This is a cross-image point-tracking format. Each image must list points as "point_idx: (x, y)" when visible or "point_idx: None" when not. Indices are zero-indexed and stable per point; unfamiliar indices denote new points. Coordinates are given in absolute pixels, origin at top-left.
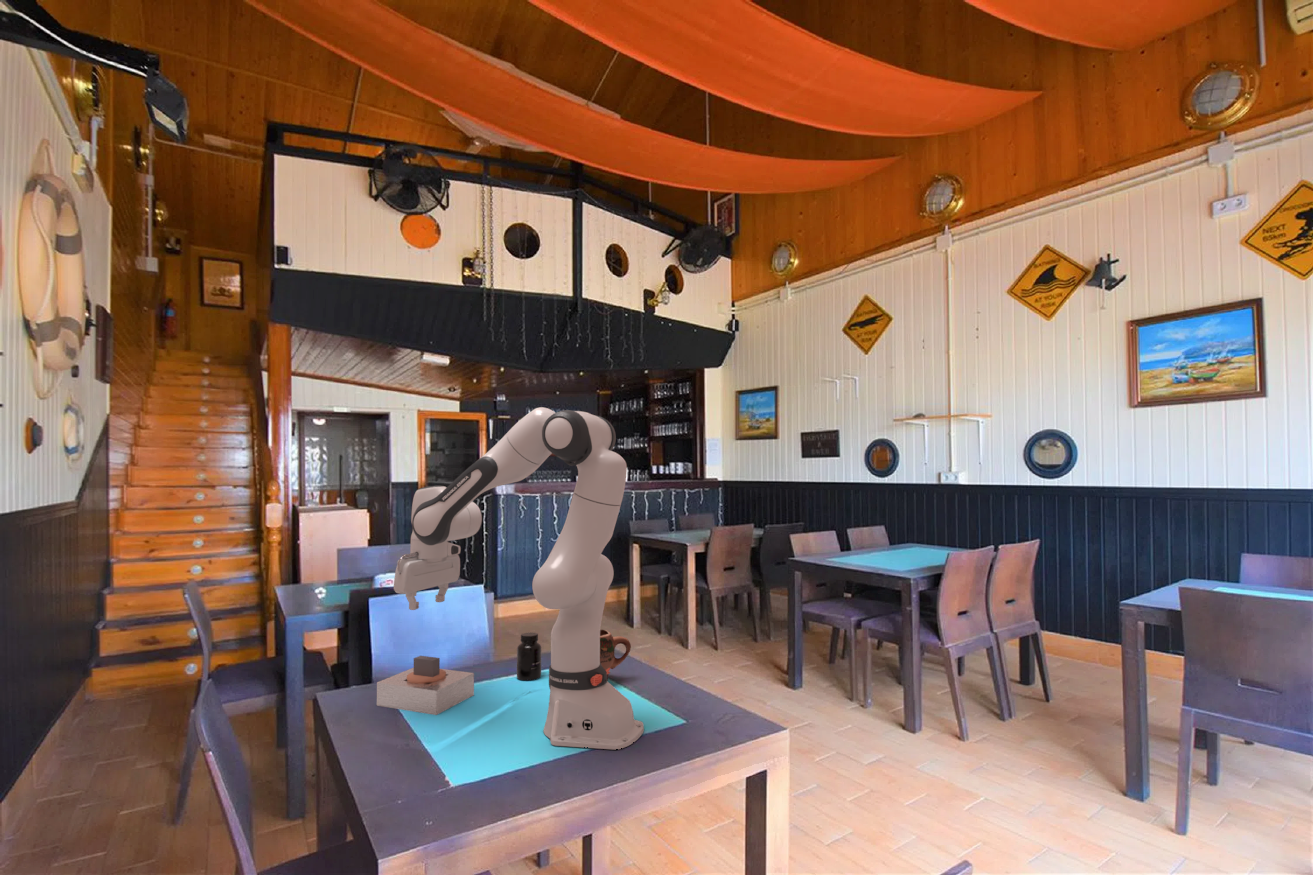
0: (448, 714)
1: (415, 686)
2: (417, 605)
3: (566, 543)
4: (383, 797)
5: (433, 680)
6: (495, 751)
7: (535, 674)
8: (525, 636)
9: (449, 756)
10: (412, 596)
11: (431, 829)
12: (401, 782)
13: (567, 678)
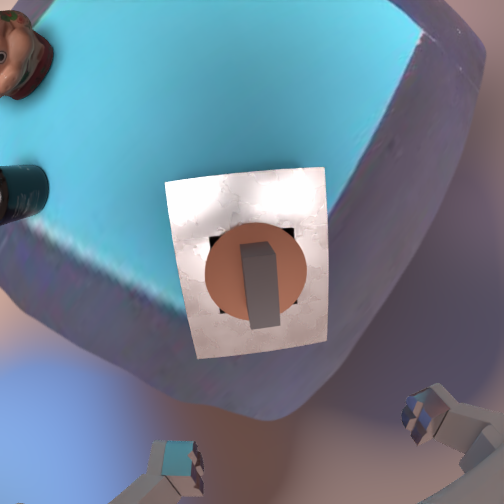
0: None
1: (320, 242)
2: (431, 400)
3: None
4: (465, 87)
5: (277, 227)
6: (343, 13)
7: (31, 165)
8: None
9: (386, 62)
10: (502, 414)
11: (460, 26)
12: (446, 86)
13: None
